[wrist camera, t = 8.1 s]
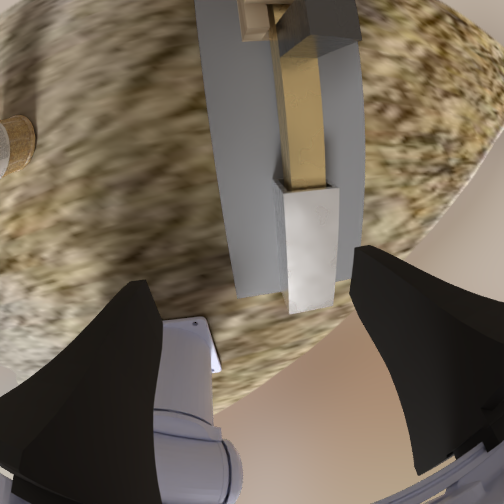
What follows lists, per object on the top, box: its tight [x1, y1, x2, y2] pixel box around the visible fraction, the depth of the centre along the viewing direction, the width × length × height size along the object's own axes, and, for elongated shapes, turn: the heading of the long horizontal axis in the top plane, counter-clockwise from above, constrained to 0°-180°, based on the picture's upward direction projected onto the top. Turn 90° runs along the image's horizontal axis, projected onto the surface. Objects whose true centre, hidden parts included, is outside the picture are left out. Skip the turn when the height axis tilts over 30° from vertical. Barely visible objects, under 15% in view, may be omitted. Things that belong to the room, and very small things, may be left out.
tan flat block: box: [267, 0, 362, 191], centre depth 11 cm, size 2×12×7 cm, turn 6°
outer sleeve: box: [272, 178, 339, 314], centre depth 18 cm, size 3×8×3 cm, turn 6°
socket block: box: [237, 0, 294, 42], centre depth 10 cm, size 5×4×4 cm
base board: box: [194, 0, 365, 299], centre depth 16 cm, size 10×22×1 cm, turn 6°
